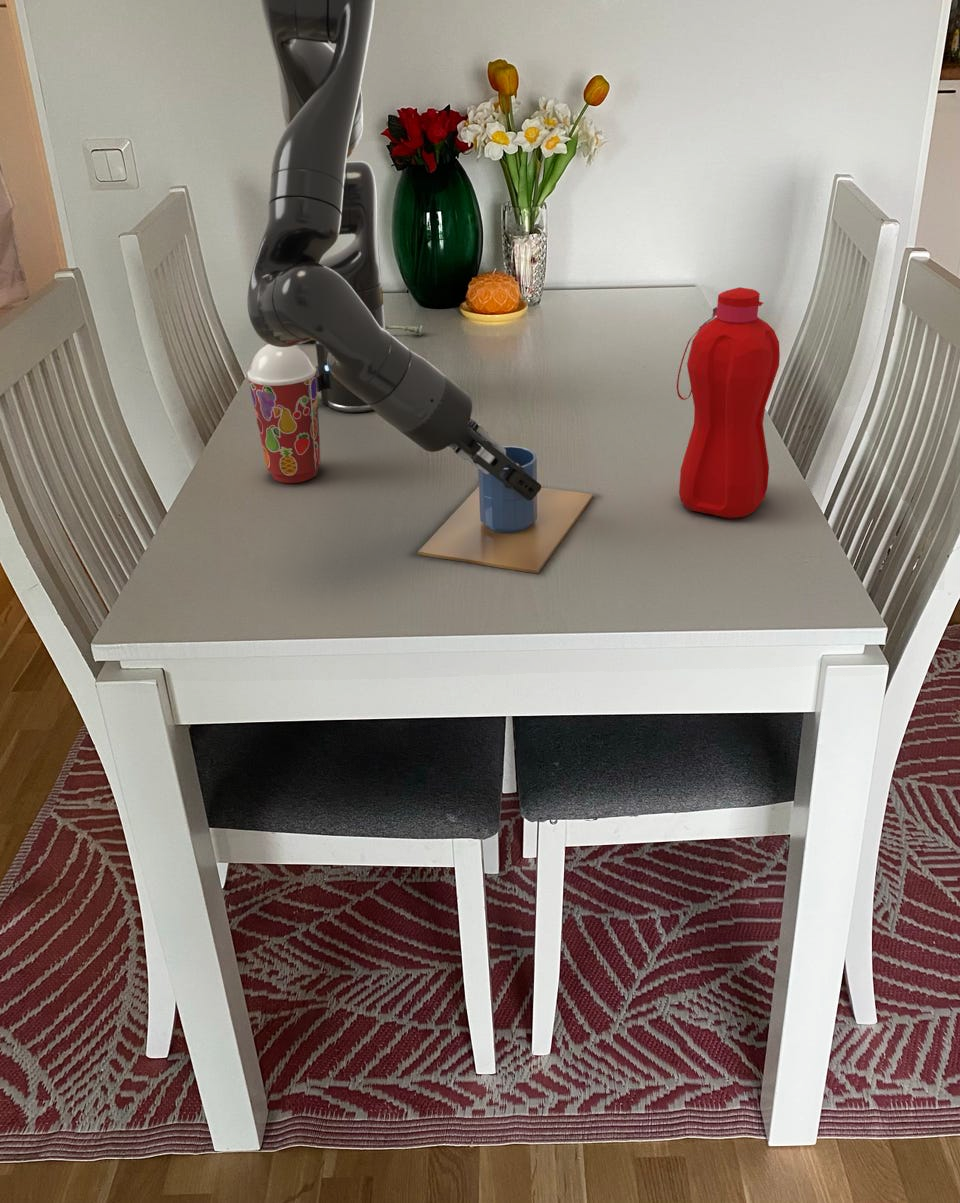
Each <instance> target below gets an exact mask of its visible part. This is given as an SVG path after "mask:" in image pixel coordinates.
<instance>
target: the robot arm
mask: <svg viewBox="0 0 960 1203" xmlns="http://www.w3.org/2000/svg"><path fill="white" fill-rule="evenodd" d="M375 1H376V0H260V5H261V6H260V7H261V11H262V16H263V19H264V23H265V28H266V31H267V35H268V38H269V41H270V45H271V49H272V52H273V55H274V59H275V62H276V67H277V75H278V81H279V82H278V83H279V90H280V92H279V93H280V100H281V101H280V102H281V110H282V115H283V121H284V126H285V130H284V131H283V132H282V135H281V137H280V139H279V141H278V143H277V146H276V148H275V151H274V154H273V157H272V165H271V172H270V182H269V183H270V185H269V195H268V205H267V206H268V207H267V222H266V226H265V229H264V232H263V235H262V238H261V240H260V243H259V246H258V250H257V253H256V257H255V260H254V263H253V266H252V270H251V275H250V279H249V282H248V288H247V298H246V299H247V300H246V301H247V312H248V317H249V320H250V324H251V326H252V328H253V330H254V332H255V333H256V334H257V336H258V337H259V338H260V339H261V340H262V341H264V342H265V343H266V344H270V345H273V346H276V347H291V346H294V345H297V346H299V345H301V344H304V343H308V342H311V341H315V350H316V351H315V352H316V361H317V365H315V366H316V368H317V372H316V376H317V393H320V397H321V404H322V406H328V407H329V408H331V409H332V410H335V411H339V412H344V413H362V412H363V413H364V412H369V411H374V412H375V413H376V414H378V415H379V417H381V418H382V419H383V420H384V421H386V422H387V423H388V424H390V425H391V426H392V427H394V428H395V429H396V430H397V431H399V432H400V433H402V435H404V436H405V437H407V438H408V439H409V440H411V441H413V442H414V443H415V444H416V445H418V446H419V447H420V448H422V449H423V450H424V451H425V452H430V453H436V452H440V451H442V450H444V449H447V447H449V448H450V449H451V450H453V452H454V453H455V454H456V455H457V456H458V457H460V458H461V459H462V460H464V461H468V462H470V464H472V466H475V467H476V468H477V470H478V469H480V470H481V471H482V472H483V473H485V474H491V475H493V476H494V477H495V478H497V479H498V480H499V481H500V482H501V483H502V484H503V485H504V486H505V487H506V488H507V489H508V488H510V489H512V488H513V489H514V490H515V491H517V492H518V493H519V494H520V495H522V496H523V497H524V498H526V499H527V500H529V501H530V500H532V499H533V498H534V497H535V496H536V495H537V493H538V492H539V491H540V490H541V487H542V485H541V484H540V483H539V481H538V480H537V481H536V480H534V479H533V478H532V477H531V476H529V475H528V474H527V473H526V472H525V471H524V470H523V469H524V468H522V467H521V466H520V465H519V464H518V463H514V462H513V461H512V460H511V459H510V458H508V457H507V456H506V453H507V451H506V449H505V448H503V447H502V446H503V445H502V444H500V443H498V442H497V441H496V440H495V439H494V438H492V437H491V436H490V435H489V432H488V430H487V429H485V428H484V427H482V426H481V425H480V424H479V423H478V422H477V421H475V420H474V419H473V418H472V417H471V416H472V413H473V401H472V398H471V396H470V395H469V394H468V393H467V392H466V391H465V390H464V389H463V388H461V387H460V386H459V385H457V383H455V382H454V381H453V380H451V378H450V377H448V376H446V374H444V373H443V372H442V371H441V370H439V369H438V368H437V367H436V366H435V365H433V364H432V363H431V362H430V361H428V360H427V359H425V358H424V357H423V356H421V355H419V354H418V353H416V352H414V351H413V350H411V349H410V348H409V347H407V346H406V345H405V344H403V343H402V342H401V341H400V340H398V339H397V338H396V337H395V336H394V335H392V334H391V333H390V332H389V331H388V330H387V329H385V326H386V320H385V318H386V317H385V306H384V294H383V293H384V292H383V282H382V270H381V261H380V248H379V230H378V229H379V227H378V226H379V225H378V222H379V221H378V193H377V191H378V190H377V182H376V177H375V172H374V170H373V168H372V166H371V165H370V164H369V163H368V162H367V161H364V160H347V159H349V157H350V156H351V155H352V154H353V152H354V151H355V149H356V148H357V147H358V145H359V143H360V140H361V138H362V135H363V132H364V104H363V93H362V88H361V87H362V81H363V77H364V71H365V66H366V61H367V56H368V52H369V51H368V50H369V46H370V45H369V44H370V40H371V33H372V29H373V28H372V27H373V21H374V13H375V3H376V2H375ZM329 44H332V45H335V48H334V49H333V48H332V47H331V46H330V45H329ZM343 235H354V239H353V240H352V242H351V243H350V244H348V245H347V246H346V247H345V248H344V249H342V250H341V251H339V252H337V253H335V254H333V255H331V256H327V257H326V258H323V256H324V255H325V254H326V253H327V252H328V251H329V250H330V249H331V248H332V247H333V246H334V245H335V244H336V242H337V240H338V237H339V236H343ZM322 258H323V259H322ZM495 447H496V448H495ZM492 454H493V455H492ZM486 461H487V462H486ZM507 465H510V467H509V468H508V469H507V470H506V472H505V473H504V474H503V475H500V473H501V472H502V470H503V469H504V468H505V467H506V466H507Z"/></svg>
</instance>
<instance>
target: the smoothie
mask: <svg viewBox="0 0 960 1203" xmlns="http://www.w3.org/2000/svg"><path fill="white" fill-rule="evenodd" d="M316 366H317V365H315V364H314V363H313V362H312V361H311V359H310V356H309V355H308V354H307V352H306V351H305V350H304V349H303V348H302V347H301V346H299V345H294V346H291V347H276V346H273V345H270V344H268V343H266V344H265V345H263V346H262V347H261V348H259V349H258V351H257V352H256V354H255V355H254V357H253V359H252V360H251V363H250V367H249V369H248V371H247V373H246V375H247V378H248V384H249V388H250V394H251V400H252V404H253V408H254V413H255V418H256V423H257V427H258V434H259V436H260V443H261V446H262V452H263V455H264V456H263V457H264V461H265V466H266V469H267V471H268V472H270V473H271V475H272V478H273V479H274V481H276V482H279V483H284V484H297V483H304V482H306V481H309V480H311V479H313V478H314V477H315V476H316V475H317V474H318V470H319V469H318V468H319V467H320V466H321V463H322V462H321V461H322V460H321V441H320V440H321V439H320V420H319V417H320V416H319V400H318V399H319V398H318V397H319V396H318V392H317V376H316V372H317V368H316Z"/></svg>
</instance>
